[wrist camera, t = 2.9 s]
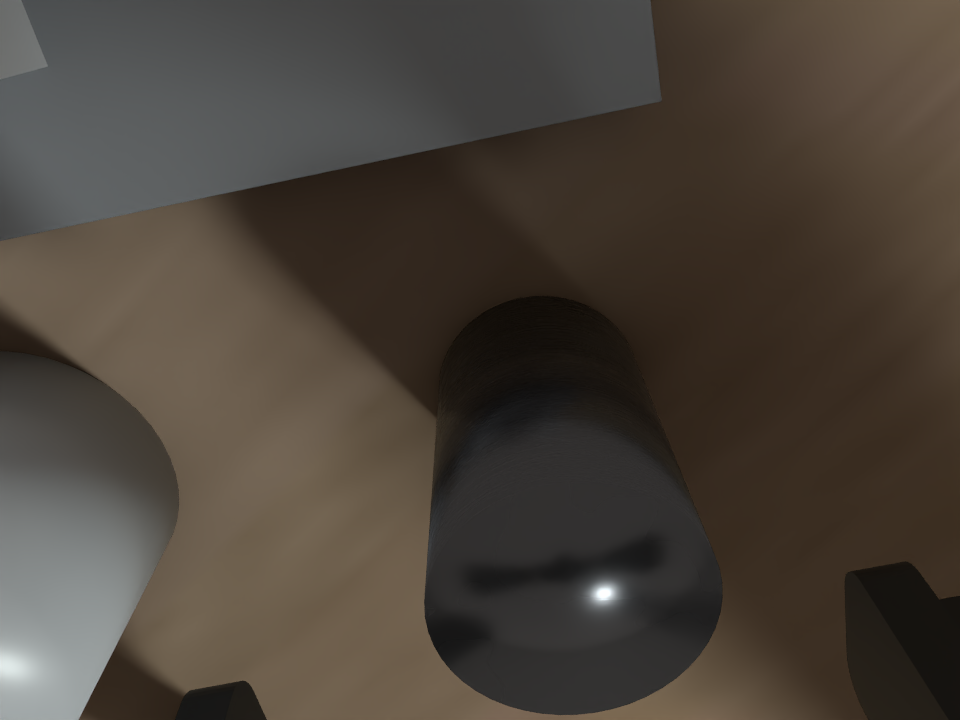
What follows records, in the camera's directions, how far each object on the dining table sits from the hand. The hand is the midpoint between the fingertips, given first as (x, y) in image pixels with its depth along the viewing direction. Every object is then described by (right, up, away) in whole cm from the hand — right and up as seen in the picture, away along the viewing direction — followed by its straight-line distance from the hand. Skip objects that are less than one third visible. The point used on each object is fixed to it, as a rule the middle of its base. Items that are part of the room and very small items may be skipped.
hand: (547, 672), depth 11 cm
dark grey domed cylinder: (0, +4, +7) cm, 8 cm away
